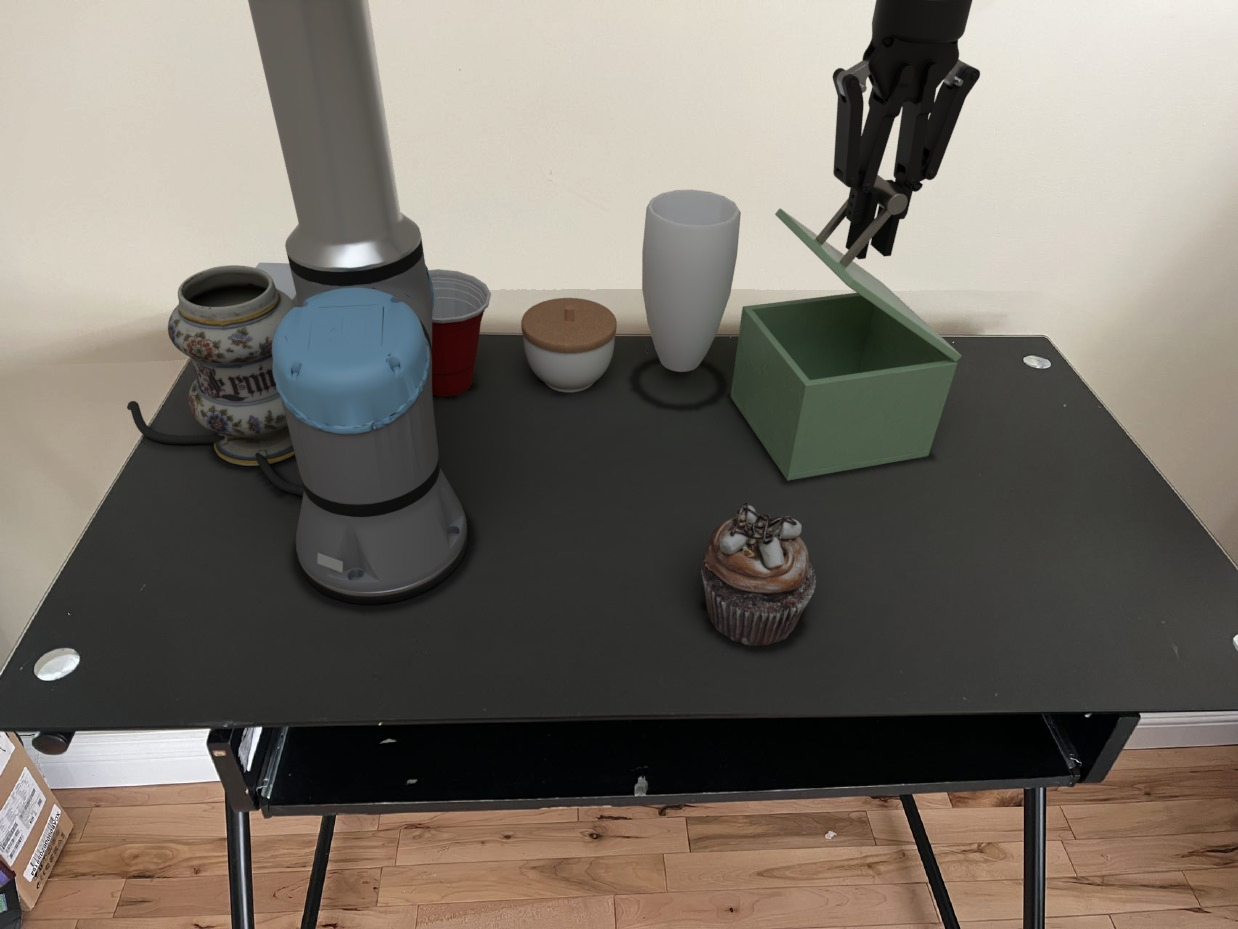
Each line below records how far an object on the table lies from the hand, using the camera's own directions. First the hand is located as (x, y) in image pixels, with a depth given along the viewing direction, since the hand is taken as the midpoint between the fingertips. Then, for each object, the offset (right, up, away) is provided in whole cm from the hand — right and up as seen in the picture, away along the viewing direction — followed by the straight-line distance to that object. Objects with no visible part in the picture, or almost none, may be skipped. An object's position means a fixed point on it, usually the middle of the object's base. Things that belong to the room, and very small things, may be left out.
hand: (868, 251), depth 88 cm
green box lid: (0, -3, +3) cm, 4 cm away
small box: (-61, -11, +16) cm, 64 cm away
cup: (-17, -11, +19) cm, 28 cm away
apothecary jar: (-62, -18, +8) cm, 65 cm away
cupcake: (-13, -34, -9) cm, 37 cm away
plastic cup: (-44, -11, +17) cm, 48 cm away
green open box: (-1, -16, +13) cm, 21 cm away
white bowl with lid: (-30, -11, +19) cm, 37 cm away
